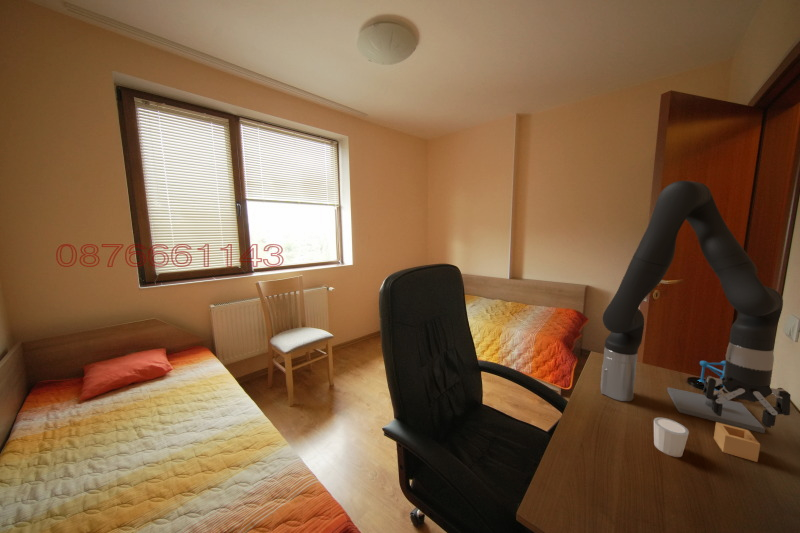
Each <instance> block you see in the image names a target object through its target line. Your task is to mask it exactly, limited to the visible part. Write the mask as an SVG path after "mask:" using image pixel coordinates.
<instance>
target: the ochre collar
mask: <svg viewBox="0 0 800 533" xmlns="http://www.w3.org/2000/svg"><path fill="white" fill-rule="evenodd" d="M713 435H714V436H713V439H714V441H715V443H716V444H717V445H718V447H719V449H720V450H721V452H722V453H725V454H728V455H732V456H736V457H738V458H741V459H746V460H749V461H752V462H755V463H758V462H759V461H758V460H759V455H760V451H761V449H760V448H761V443H760V442H759V441H758V440H757V438H755V436H754V435H753V434H752V432H751V431H750V430H748V429H744V428H740V427H736V426H732V425H728V424H724V423H720V422H716V421H715V427H714V434H713Z"/></svg>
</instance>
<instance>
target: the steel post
mask: <svg viewBox="0 0 800 533" xmlns="http://www.w3.org/2000/svg"><path fill="white" fill-rule="evenodd" d="M715 389H716V388H715ZM715 389H714V394H716V393H717V392H719V391H717V390H718V389H717V390H715ZM705 404H706V405H707V406H709V407H712V400H711V399H708V398H707V397H706V403H705Z"/></svg>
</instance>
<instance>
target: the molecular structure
mask: <svg viewBox="0 0 800 533" xmlns="http://www.w3.org/2000/svg"><path fill="white" fill-rule="evenodd" d="M725 362H726V360H722V361H720V362H708V361H706V360H700V361H699V365H700V366H701V374H700V379H698V380H697V381H699V382H703V383H705V374H706V373H705V372H706V371H705V370H706V368H707V369H709V370H710V371H711V372H713V373H714V374H716V375H717V376H719V379H722V378H723V377H724V371H725ZM715 366H722V370H721V369H719V368H716V367H715ZM720 373H721V374H720ZM720 386H721V387H722V388H724V386H723V385H720ZM715 390H717V391H719V390H720V389H719V390H718V389H717V388H715Z"/></svg>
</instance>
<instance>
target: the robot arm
mask: <svg viewBox="0 0 800 533" xmlns="http://www.w3.org/2000/svg"><path fill="white" fill-rule="evenodd" d="M685 221H687V223H688V224H689V225H690V227H691V228H692V229H693V231H694V233H695V235H696V238H697V241H698V244H699V247H700V250H701V252H702V255H703V257H704V259H705V260H706V261H707V263H708V265H709V267H710V268H711V269H712V271H713V272H714V274H715V276H717V277H718V279H719V282H720V285H721V288H722V291H723V292H724V295H725V298H726V299H727V301H728V302H729V304H730V305H731V307H733V309H735V310H736V311H737V317H736V319H735V321H734V322H733V323H732V326H731V328H730V332H729V342H728V346H727V348H726V353H725V361H726V362H725V371H724V377H723V378H722V379H720V378H717V377H714V376H712V375H711V374H707V375H706V376H705V379H704V381H705V385H704V386H703V390H702V393H703V394H702V395H705V396H706V397H707V398H708V399H711V400H712V410H713V412H714V413H715V414H716V415H717V416H721V414H722V406H723V404H722V402H724V401H726V400H729V401H731V400H732V399H734V398H736V399H737V400H743V401H748V402H751V403H755V402H759V403H760V404H761V405H762V407H763V408H764V409H763V411H762V417H761V425H762V426H763V427H764V428H770V429H771V428H772V427H774V426H775V424H776V418H777V415H784V416H790V414H791V394H790V393H789V392H788V391H787V390H786V389H784V388H782V387H778V388H773V387H771V383H772V374H773V370H774V369H773V368H774V362H775V361H774V360H775V358H774V357H775V356H774V355H775V354H774V349H775V340H776V329H777V326H778V323H779V321H780V318H781V315H782V311H783V306H784V299H783V297H782V295H781V294H780V292H779V291H778V290H776V289H774V288H772V287H769V286H765V285H764V284H763V283H762V282H761V280H760V278H759V276H758V275H757V273H758V268H757V266H756V264H755V263H754V262H753V260H752V259H751V257H750V256H749V255H748V253H747V252H746V250H745V249H744V248H743V246H742V245H741V244H740V242H739V241H738V240H737V238H736V237H735V236H734V234H733V233H732V231H731V230H730V228H729V227H728V226H727V224H726V222H725V221H724V219H723V217H722V214H721V213H720V211H719V209H718V206H717V204H716V201H715V198H714V196H713V195H712V192H711V190H710V188H709V187H708V186H707V185H706V184H704V183H702V182H697V181H692V180H679V181H675V182H674V181H673V182H672V183H669V184H668V185H667V186H665V187H664V188H663V189H662V190H661V191H660V193H659V195H658V197H657V199H656V202H655V206H654V209H653V212H652V215H651V217H650V220H649V223H648V226H647V228H646V230H645V232H644V234H643V236H642V237H641V240H640V241H639V244H638V246H637V248H636V250H635V252H634V253H633V256H632V258H631V260H630V261H629V264H628V265H627V266H628V267H627V269H626V271H625V273H624V276H623V278H622V279H621V282H620V284H619V286H618V289H617V291H616V293H615V294H614V296H613V297H612V300H611V301H610V303H609V304H608V306H607V307H606V309H605V310H604V312H603V313H602V314H603V315H602V323H603V325H604V327H605V328H606V330H608V331H609V332H610V333H609V335H608V336H607V337H606V338H605V340H604V348H603V349H604V350H603V362H602V364H601V374H600V375H601V376H600V385H599V386H600V392H601V395H605V396H607V397H609V398H610V399H613V400H615V401H621V402H631V401H633V399H634V395H635V394H634V391H635V382H636V372H637V361H638V352H639V348H640V346H641V344H642V341H643V335H644V327H645V317H644V314H643V312H642V311H641V309H640V306H641V304H642V302H643V301H644V300H645V299H646V297H647V296H648V295H649V294H650V293H651V292H652V291H654V289H655V288H657V287H658V285H659V284H660V283H661V281H662V280H663V279H664V278H665V275H666V274H667V272H668V270H669V269H670V266H671V265H672V262H673V260H674V258H675V257H674V256H675V252H676V247H677V246H676V244H677V237H678V234H679V231H680V229H681V227H682V226H683V225H684V222H685ZM720 384H722V385H723V386H724V388H723V386H722V388H720V389H719V392H717V393H716V394H714V389H716V387H718V386H720ZM772 394H773V396H774V397H776V400H775V401H776V402H775V406H772V405H771V404H770V402H769V401H768V400H767V399H766V398H767V397H769V396H770V395H772Z"/></svg>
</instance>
